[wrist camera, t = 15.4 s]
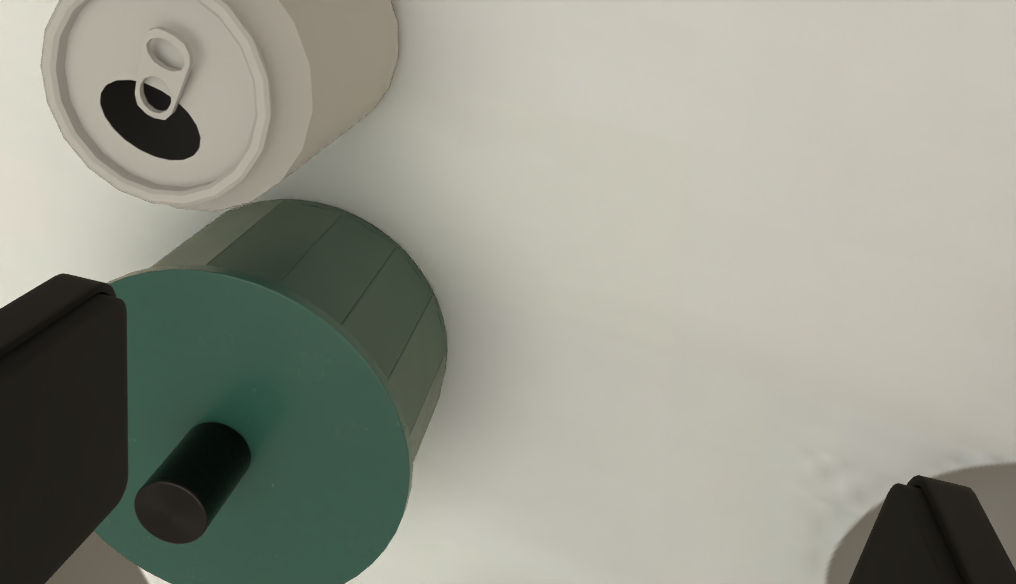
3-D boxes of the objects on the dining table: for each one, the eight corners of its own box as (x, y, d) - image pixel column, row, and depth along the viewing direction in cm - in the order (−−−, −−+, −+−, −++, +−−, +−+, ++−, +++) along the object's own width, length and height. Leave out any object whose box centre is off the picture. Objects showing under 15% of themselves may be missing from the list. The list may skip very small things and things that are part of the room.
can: (186, 68, 35) (-19, 143, 24) (255, -116, 32) (55, -126, 21) (355, 164, 36) (229, 279, 25) (438, -8, 32) (336, 37, 22)
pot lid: (42, 218, 29) (-57, 270, 25) (442, 305, 29) (408, 374, 24) (59, 538, 35) (-20, 624, 31) (393, 618, 34) (358, 716, 30)
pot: (171, 171, 37) (46, 242, 29) (467, 234, 36) (421, 324, 28) (167, 424, 42) (61, 541, 34) (426, 483, 41) (377, 616, 34)
